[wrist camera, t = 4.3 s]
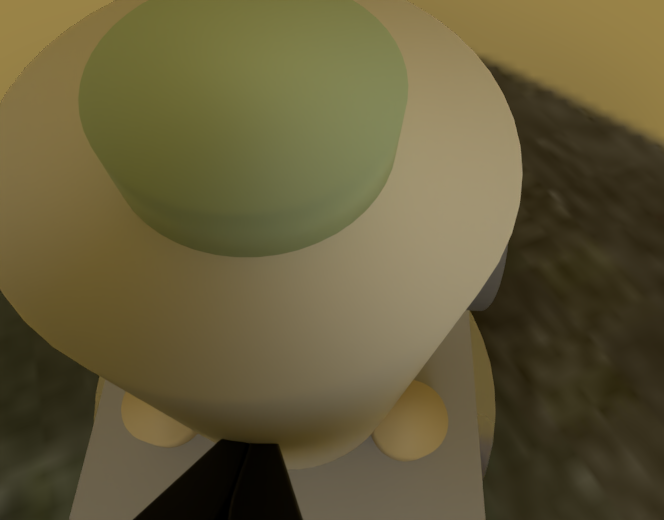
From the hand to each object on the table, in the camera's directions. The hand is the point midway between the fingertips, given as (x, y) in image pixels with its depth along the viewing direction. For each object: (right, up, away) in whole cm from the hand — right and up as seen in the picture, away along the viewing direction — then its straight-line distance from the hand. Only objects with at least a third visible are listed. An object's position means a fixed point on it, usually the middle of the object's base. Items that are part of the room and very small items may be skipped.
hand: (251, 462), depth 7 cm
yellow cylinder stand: (0, 0, +8) cm, 8 cm away
